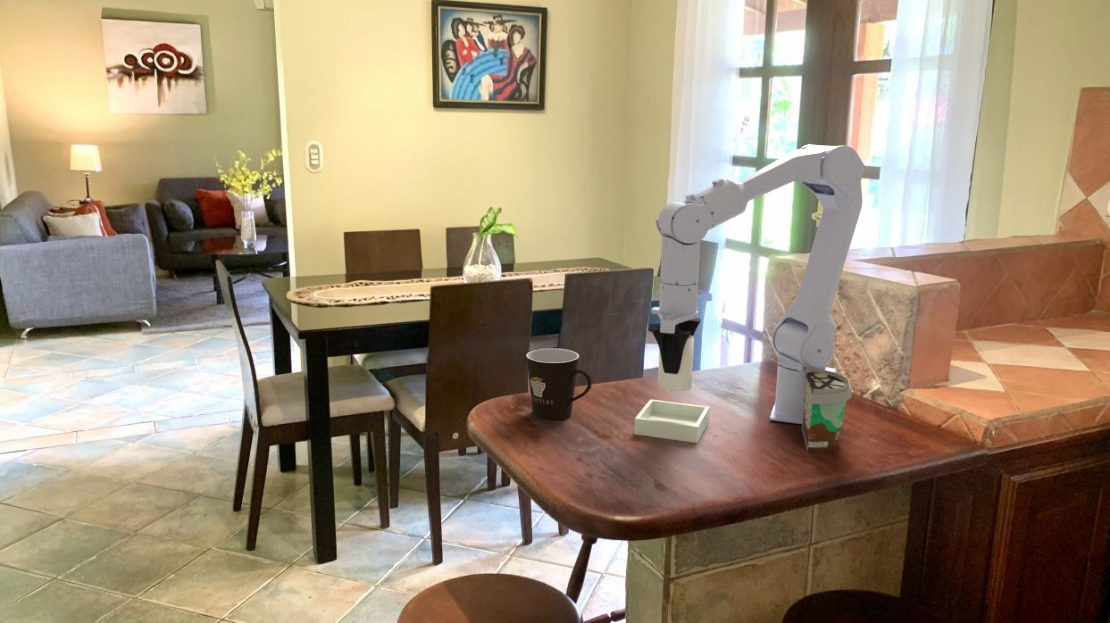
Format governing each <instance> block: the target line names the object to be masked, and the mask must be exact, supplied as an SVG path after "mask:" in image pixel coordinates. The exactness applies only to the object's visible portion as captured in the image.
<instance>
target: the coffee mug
mask: <svg viewBox="0 0 1110 623" xmlns="http://www.w3.org/2000/svg"><path fill="white" fill-rule="evenodd" d="M525 356H526V364H527V365H526V366H527V367H526V368H527V374H528V382H529V384H528V385H529V390H530V392H529V393H530V400H531V409H532V415H533V416H534V417H535V416H536V417H535V418H537V417H538V418H537V419H539V418H541V419H540V420H543V419H545V420H544V421H562V420H566V419H568V418H570V417H571V416H572V412H573V405H574V402H575V401H577V400H579V399H581V398H583V397H584V396H586V394H588V393H589V391H590V390H591V388H592V379H591V376H590V374H589V373H588V372H587V371H585V370H584V369H580V368H579V359H580V354H579V353H578V352H575V351H573V350H570V349H565V348H541V349H540V348H538V349H535V350H531V351H528V352H527V353H526V355H525ZM578 368H579V369H578ZM577 374H581V375H583V376H584V377H585V379H586V382H587V385H586V386H587V387H586V389H584V391H583V392H581V393H579V394H577V395H575V389H576V388H575V387H576V382H577ZM546 419H547V420H546ZM561 419H562V420H561Z"/></svg>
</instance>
